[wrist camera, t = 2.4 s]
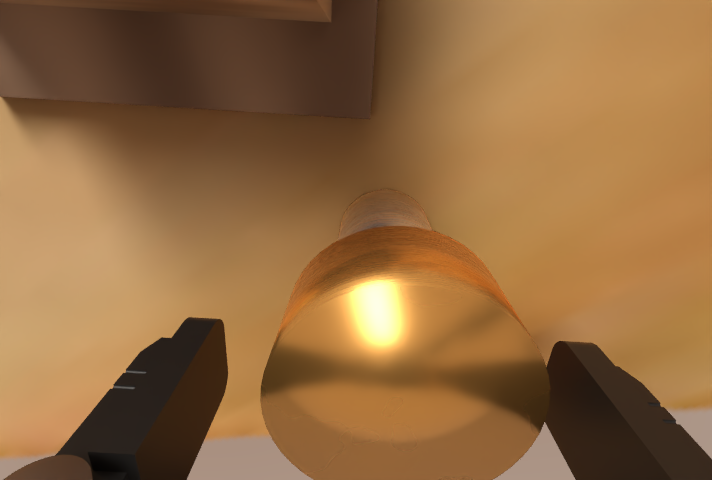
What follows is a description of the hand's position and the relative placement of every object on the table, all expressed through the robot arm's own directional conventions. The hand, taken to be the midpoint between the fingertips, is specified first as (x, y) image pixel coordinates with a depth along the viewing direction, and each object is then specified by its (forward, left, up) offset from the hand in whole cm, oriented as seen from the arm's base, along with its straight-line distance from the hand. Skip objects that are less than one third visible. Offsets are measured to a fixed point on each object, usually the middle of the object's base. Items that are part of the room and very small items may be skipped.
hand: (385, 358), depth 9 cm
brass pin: (0, 0, -9) cm, 9 cm away
